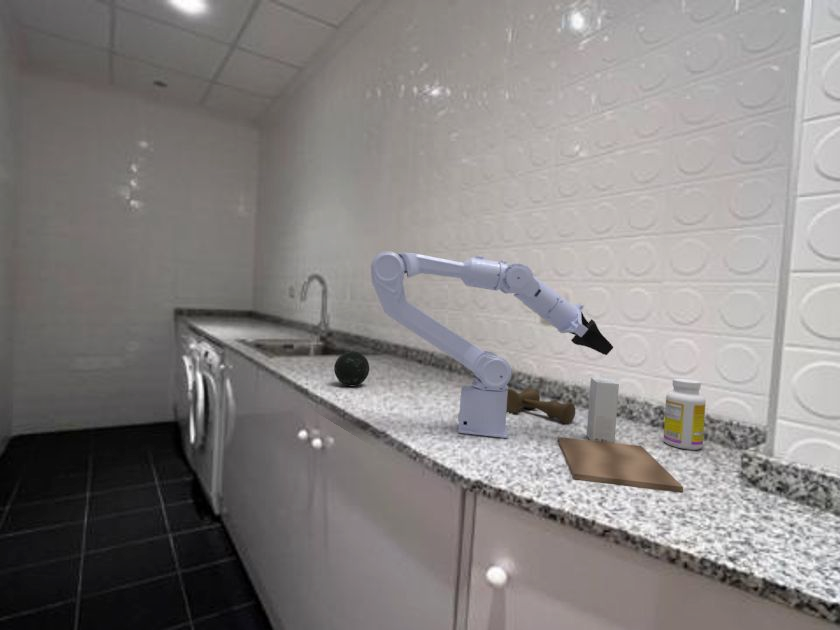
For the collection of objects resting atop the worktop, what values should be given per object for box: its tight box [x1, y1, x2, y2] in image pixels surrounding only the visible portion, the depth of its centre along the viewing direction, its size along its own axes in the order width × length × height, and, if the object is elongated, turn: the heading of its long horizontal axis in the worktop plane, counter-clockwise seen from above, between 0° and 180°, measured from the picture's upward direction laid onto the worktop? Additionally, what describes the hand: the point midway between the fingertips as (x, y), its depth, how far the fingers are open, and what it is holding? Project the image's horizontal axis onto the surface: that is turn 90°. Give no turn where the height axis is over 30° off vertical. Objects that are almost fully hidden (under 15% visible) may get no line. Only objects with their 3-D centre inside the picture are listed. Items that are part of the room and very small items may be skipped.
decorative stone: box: [333, 350, 370, 386], centre depth 127 cm, size 10×10×10 cm
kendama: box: [506, 387, 576, 425], centre depth 105 cm, size 6×10×20 cm
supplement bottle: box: [663, 378, 706, 451], centre depth 86 cm, size 7×7×13 cm
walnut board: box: [557, 436, 684, 493], centre depth 74 cm, size 15×19×1 cm
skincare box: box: [586, 377, 619, 443], centre depth 86 cm, size 6×4×12 cm
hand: (603, 345), depth 89 cm, fingers open, 7 cm apart
